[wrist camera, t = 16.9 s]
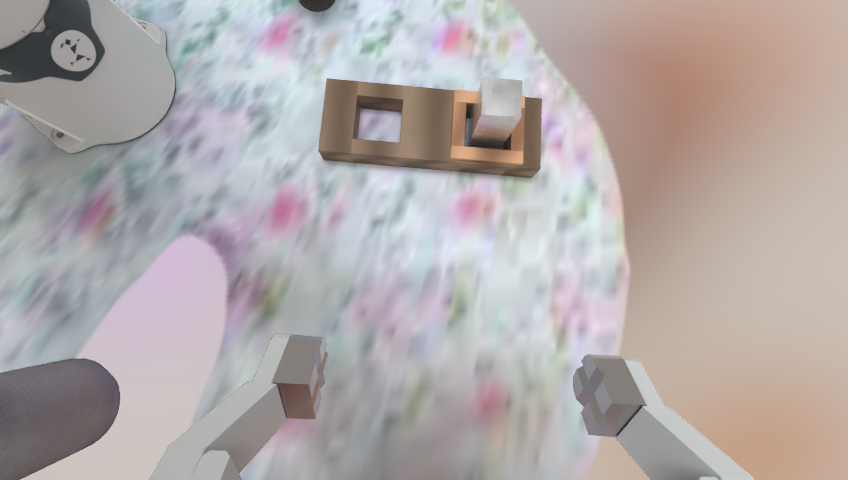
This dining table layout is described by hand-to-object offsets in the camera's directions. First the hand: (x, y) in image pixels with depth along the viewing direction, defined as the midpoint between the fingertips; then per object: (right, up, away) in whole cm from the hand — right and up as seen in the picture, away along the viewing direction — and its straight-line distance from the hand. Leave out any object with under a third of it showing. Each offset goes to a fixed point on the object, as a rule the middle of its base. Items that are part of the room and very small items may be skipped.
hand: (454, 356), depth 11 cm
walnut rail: (0, +17, +34) cm, 38 cm away
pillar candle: (-39, -14, +28) cm, 50 cm away
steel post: (+6, +16, +35) cm, 39 cm away
